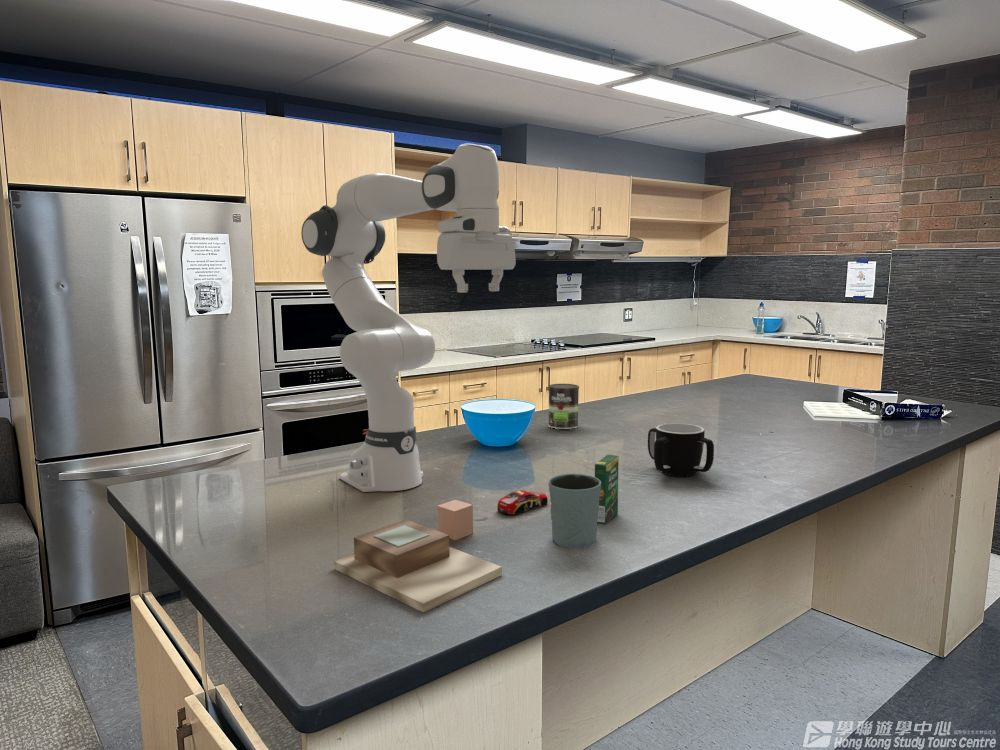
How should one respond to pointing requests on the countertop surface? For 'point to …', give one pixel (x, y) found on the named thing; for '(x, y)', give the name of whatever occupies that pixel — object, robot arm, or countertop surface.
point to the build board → (425, 579)
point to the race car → (521, 501)
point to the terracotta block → (455, 519)
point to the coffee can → (563, 406)
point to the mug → (679, 449)
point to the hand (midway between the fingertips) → (478, 291)
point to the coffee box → (607, 488)
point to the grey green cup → (574, 509)
